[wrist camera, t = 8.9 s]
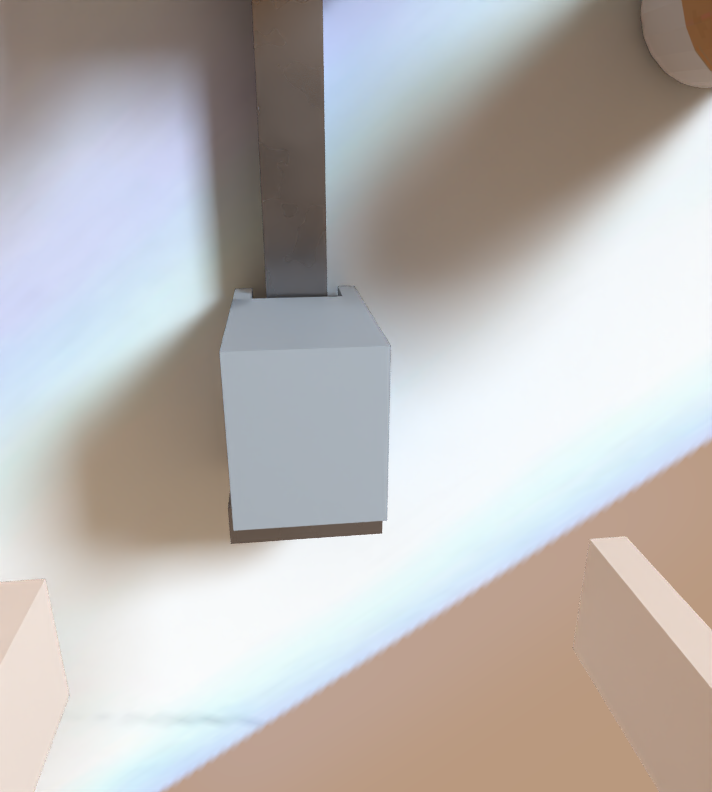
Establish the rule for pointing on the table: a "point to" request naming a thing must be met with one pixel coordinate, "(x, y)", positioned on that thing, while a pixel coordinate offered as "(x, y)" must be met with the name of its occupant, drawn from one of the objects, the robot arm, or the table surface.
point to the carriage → (305, 410)
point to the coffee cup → (680, 38)
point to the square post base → (301, 531)
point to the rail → (291, 144)
